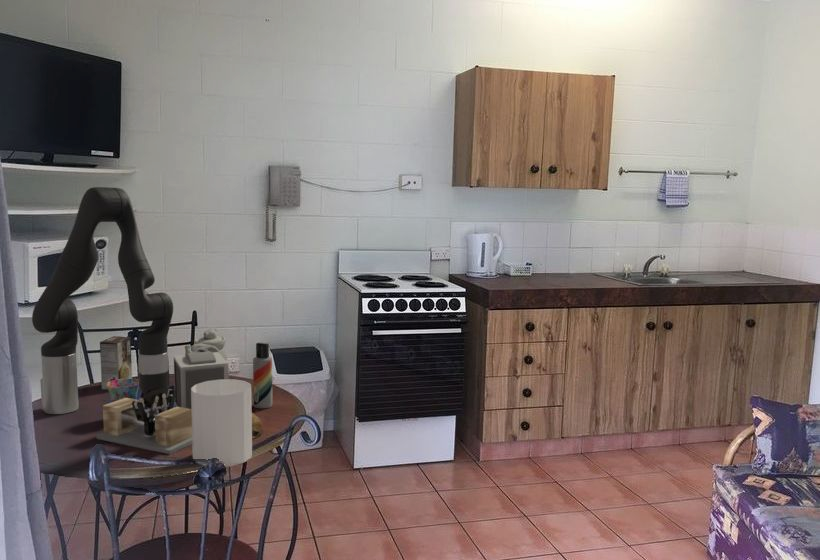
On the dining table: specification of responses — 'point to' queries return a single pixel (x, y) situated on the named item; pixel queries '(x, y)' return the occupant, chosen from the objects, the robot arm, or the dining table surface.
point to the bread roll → (256, 426)
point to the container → (222, 421)
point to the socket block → (173, 426)
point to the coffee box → (115, 359)
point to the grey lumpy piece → (208, 344)
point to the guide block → (117, 417)
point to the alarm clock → (196, 373)
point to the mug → (123, 389)
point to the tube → (133, 419)
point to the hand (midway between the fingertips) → (155, 432)
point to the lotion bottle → (262, 377)
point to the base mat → (143, 441)
